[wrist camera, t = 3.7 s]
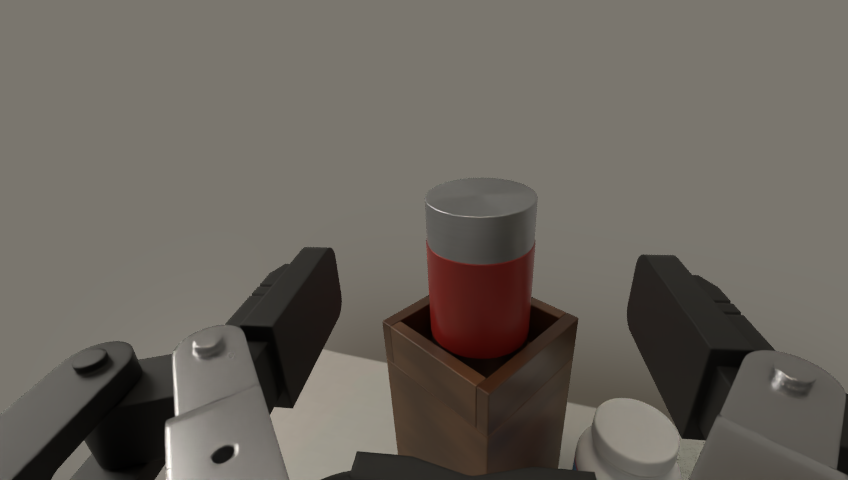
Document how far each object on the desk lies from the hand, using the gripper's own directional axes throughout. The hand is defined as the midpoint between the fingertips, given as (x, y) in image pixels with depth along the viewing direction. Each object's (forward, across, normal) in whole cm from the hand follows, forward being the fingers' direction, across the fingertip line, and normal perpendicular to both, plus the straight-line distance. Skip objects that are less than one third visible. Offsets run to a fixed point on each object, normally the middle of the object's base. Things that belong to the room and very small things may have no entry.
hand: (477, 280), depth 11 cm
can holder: (+11, 0, +27) cm, 29 cm away
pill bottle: (+9, -9, +27) cm, 30 cm away
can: (+11, 0, +13) cm, 17 cm away
